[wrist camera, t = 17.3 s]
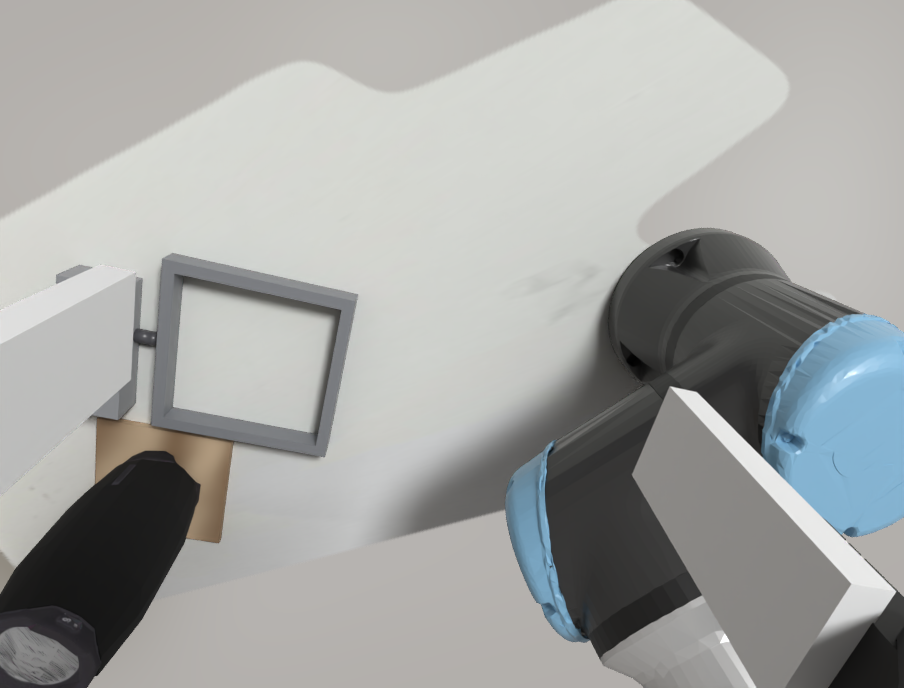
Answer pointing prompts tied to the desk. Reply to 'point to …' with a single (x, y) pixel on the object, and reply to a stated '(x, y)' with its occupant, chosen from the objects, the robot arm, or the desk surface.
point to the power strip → (128, 392)
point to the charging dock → (168, 344)
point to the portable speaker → (94, 574)
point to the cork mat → (191, 452)
